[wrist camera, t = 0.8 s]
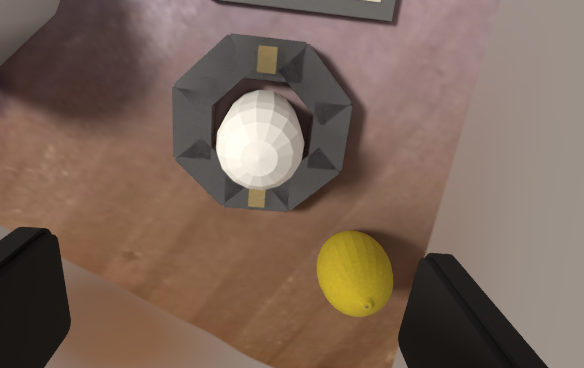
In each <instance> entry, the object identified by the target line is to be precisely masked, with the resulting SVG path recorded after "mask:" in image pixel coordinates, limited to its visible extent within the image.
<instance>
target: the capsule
mask: <svg viewBox="0 0 584 368" xmlns="http://www.w3.org/2000/svg"><path fill="white" fill-rule="evenodd" d="M303 148H304V140H303V136H302V132H301V128H300V125H299V122H298V119H297V116H296V113H295V110H294V109H293V107H292V106H291V105H290V103H289V102H288V101H287V99H285V98H284V97H282V96H280V95H279V94H277V93H275V92H273V91H266V90H256V91H252V92H248V93H245V94H244V95H243V96H241V97H240V98H239V99H238V100H236V101H235V102H234V103H233V105H232V107H231V108H230V110H229V112H228V113H227V115H226V117H225V118H224V120H223V122H222V124H221V126H220V128H219V130H218V132H217V143H216V151H217V155H218V158H219V161H220V164H221V166H222V169H223V170H224V171H225V172H226V174H227V175H228V176H229V177H230V178H231V179H232V180H233V181H234V182H236V183H238V184H240V185H242V186H244V187H246V188H249V189H258V190H266V189H270V188H274V187H278V186H280V185H281V184H282V183H284V182H285V181H287V180H288V179H289V178H291V177H292V175H293V174H294V172H295V171H296V169H297V168H298V166H299V164H300V162H301V160H302V154H303Z"/></svg>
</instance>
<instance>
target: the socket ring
mask: <svg viewBox="0 0 584 368" xmlns="http://www.w3.org/2000/svg"><path fill="white" fill-rule="evenodd" d="M243 78H251V79H261V80H270V81H280V82H288V84H289V85H290V86H291V87H292V89H293V90H294V91H295V92H296V94H297V95H298V96H299V98H300V99H301V100H302V101H303V103H304V104H305V105H306V106H307V108H308V109H309V110H310V112H311V119H310V126H309V134H308V142H307V149H306V150H305V151H304V152H303V154H302V160H301V162H300V164H299V166H298V168H297V169H296V171H295V172H294V174H293V175H292V177H291V178H289V179H288V180H287V181H285V182H284V183H282V184H281V185H280V186H278V187H274V188H270V189H266V190H258V189H249V188H246V187H244V186H242V185H240V184H238V183H236V182H234V181H233V180H232V179H231V178H230V177H229V176H228V175H227V174H226V172H225V171H224V170H223V169H222V166H221V164H220V161H219V158H218V155H217V151H216V142H215V141H214V134H215V103H216V102H217V101H218V100H219V99H220V98H221V97H222V96H224V95H225V94H226V93H227V92H228V91H229V90H230V89H232V88H233V87H234V86H235V85H236V84H237V83H238V82H240V81H241V80H242V79H243ZM174 85H175V86H174V87H172V100H173V151H174V157H177V158H176V159H175V160H176V161H177V162H178V163H179V164H180V165H181V166H182V167H183V168H184V169H185V170H186V171H187V172H188V173H189V174H190V175H191V176H192V177H193V178H194V179H195V180H196V181H197V182H198V183H199V184H200V185H201V186H202V187H203V188H204V189H205V190H206V191H207V192H208V193H209V194H210V195H211V196H212V197H213V198H214V199H215V200H216V201H217V202H218V203H219V204H220V205H221V206H222V205H223V204H224V207H229V208H243V209H257V210H271V211H285V212H287V208H288V209H289V210H292V209H293V208H294V207H296V206H297V205H298V204H300V203H301V202H302V201H304V200H305V199H306V198H308V197H309V196H310V195H312V194H313V193H314V192H316V191H317V190H318V189H320V188H321V187H322V186H324V185H325V184H326V183H328V182H329V181H330V180H332V179H333V178H334V177H336V176H337V175H338V174H340V172H339V170H340V171H342V166H343V160H344V154H345V148H346V142H347V136H348V130H349V124H350V118H351V113H352V107H353V106H352V105H351V103H352V102H351V100H350V99H349V98H348V96H347V95H346V94H345V92H344V91H343V89H342V88H341V87H340V85H339V84H338V83H337V81H336V80H335V79H334V77H333V76H332V74H331V73H330V72H329V70H328V69H327V68H326V66H325V65H324V63H323V62H322V61H321V59H320V58H319V57H318V55H317V54H316V52H315V51H314V50H313V48H312V47H311V46H310V44H306V42H300V41H291V40H283V39H274V38H265V37H257V36H248V35H239V34H231V35H227V36H226V37H224V38H223V39H222V40H221V41H220V42H219V43H218V44H217V45H216V46H215V47H214V48H213V49H211V50H210V51H209V52H208V53H207V54H206V55H205V56H204V57H203V58H202V59H201V60H199V61H198V62H197V63H196V64H195V65H194V66H193V67H192V68H191V69H190V70H189V71H188V72H186V73H185V74H184V75H183V76H182V77H181V78H180V79H179V80H178V81H177V82H176V83H174Z"/></svg>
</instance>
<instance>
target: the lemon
mask: <svg viewBox="0 0 584 368" xmlns="http://www.w3.org/2000/svg"><path fill="white" fill-rule="evenodd" d="M317 275H318V281H319V284H320V286H321V288H322V290H323V292H324V294H325V296H326V298H327V299H328V301H329V302H330V303H331V304H332V305H333V306H334V307H335V308H336V309H337V310H339V311H341V312H342V313H344V314H347V315H350V316H357V317H362V316H368V315H371V314H373V313H375V312H377V311H379V310H380V309H381V308H382V307H383V306H384V305H385V304H386V303H387V301H388V300H389V298H390V295H391V293H392V289H393V273H392V268H391V263H390V260H389V258H388V256H387V254H386V253H385V251H384V249H383V248H382V246H381V245H380V244H379V243H378V242H377V241H376V240H375V239H374V238H372V237H371V236H369V235H367V234H365V233H363V232H358V231H343V232H339V233H337V234H335V235H333V236H332V237H331V238H329V239H328V240H327V241H326V242H325V244H324V245H323V246H322V248H321V250H320V252H319V255H318V260H317Z"/></svg>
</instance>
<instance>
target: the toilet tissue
mask: <svg viewBox="0 0 584 368" xmlns="http://www.w3.org/2000/svg"><path fill="white" fill-rule="evenodd" d="M59 3H60V0H0V66H1V65H2V64H3V63H4V62H5V61H6V60H7V59H8V58H9V57H11V56H12V55H13V54H14V53H15V52H16V51H17V50H18V49H19V48H20V47H21V46H22V45H23V44H24V43H25V42H26V41H27V40H29V39H30V38H31V37H32V36H33V35H34V34H35V33H36V32H37V31H38V30H39V29H40V28H41V27H42V26H43V25H44V24H45V23H46V22H48V21H49V20H50V19H51V18H52V17H53V16H54V15H55V14H56V11H57V8H58V6H59Z"/></svg>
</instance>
